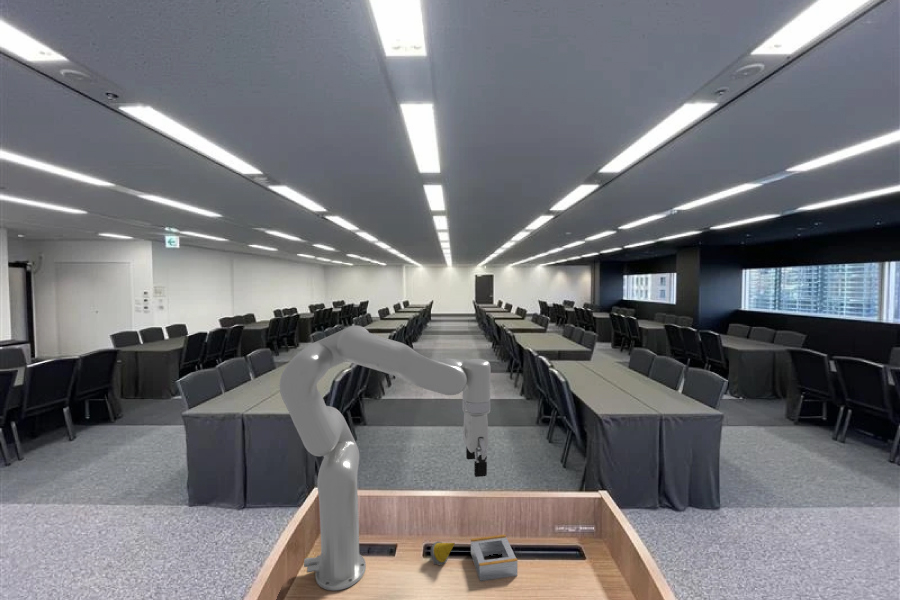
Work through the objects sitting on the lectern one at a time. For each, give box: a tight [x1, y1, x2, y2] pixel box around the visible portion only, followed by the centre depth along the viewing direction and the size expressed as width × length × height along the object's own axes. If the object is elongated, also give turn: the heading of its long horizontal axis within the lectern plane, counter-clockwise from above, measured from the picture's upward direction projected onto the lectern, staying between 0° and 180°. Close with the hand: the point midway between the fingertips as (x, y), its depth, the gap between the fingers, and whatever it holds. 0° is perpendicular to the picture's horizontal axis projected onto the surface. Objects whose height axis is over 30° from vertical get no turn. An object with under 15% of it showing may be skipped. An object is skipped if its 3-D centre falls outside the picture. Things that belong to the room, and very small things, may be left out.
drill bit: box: [430, 541, 455, 566], centre depth 105 cm, size 5×5×10 cm
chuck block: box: [470, 534, 518, 582], centre depth 104 cm, size 10×10×4 cm
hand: (476, 467), depth 106 cm, fingers open, 9 cm apart
